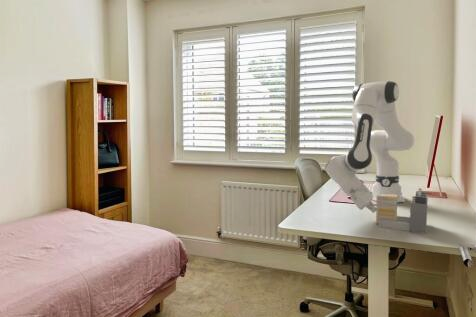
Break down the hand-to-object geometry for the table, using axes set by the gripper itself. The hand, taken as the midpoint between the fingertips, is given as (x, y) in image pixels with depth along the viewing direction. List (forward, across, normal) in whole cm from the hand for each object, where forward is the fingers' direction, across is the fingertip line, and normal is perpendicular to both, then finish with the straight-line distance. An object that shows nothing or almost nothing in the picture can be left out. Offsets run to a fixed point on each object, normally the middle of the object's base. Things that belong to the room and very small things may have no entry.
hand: (375, 211), depth 165 cm
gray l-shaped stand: (+12, 0, -4) cm, 13 cm away
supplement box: (+7, 0, +1) cm, 7 cm away
